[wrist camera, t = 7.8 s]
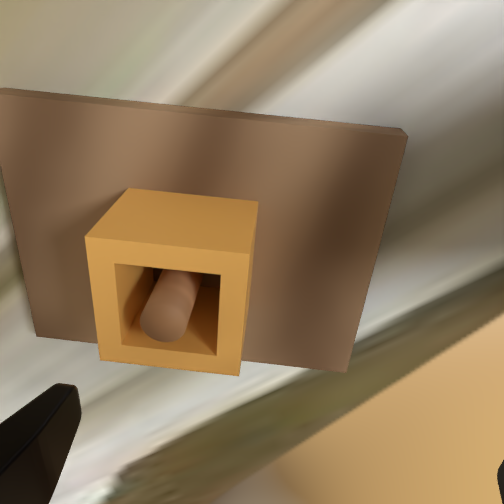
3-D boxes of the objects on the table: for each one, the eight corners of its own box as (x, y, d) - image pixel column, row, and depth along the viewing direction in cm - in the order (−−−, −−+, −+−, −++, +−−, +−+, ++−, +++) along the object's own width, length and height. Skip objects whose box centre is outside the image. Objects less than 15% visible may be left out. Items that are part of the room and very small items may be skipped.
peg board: (400, 128, 17) (452, 183, 12) (343, 356, 23) (360, 462, 18) (3, 87, 17) (-125, 122, 12) (47, 321, 23) (-25, 415, 18)
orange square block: (258, 201, 18) (249, 254, 14) (248, 307, 20) (239, 376, 17) (128, 187, 18) (84, 236, 14) (135, 294, 21) (99, 360, 17)
